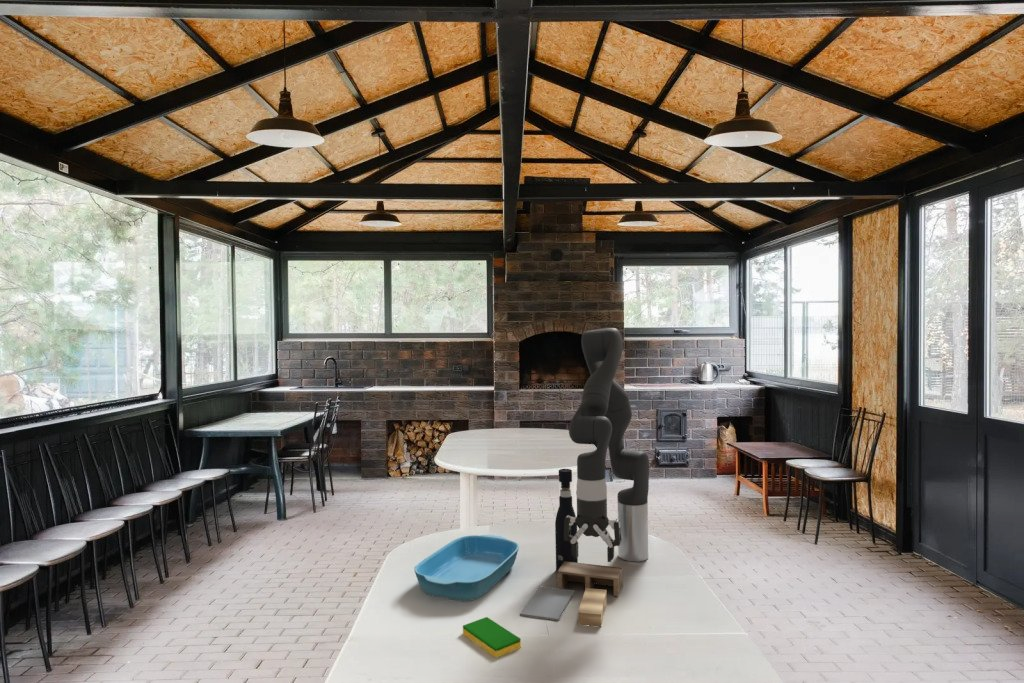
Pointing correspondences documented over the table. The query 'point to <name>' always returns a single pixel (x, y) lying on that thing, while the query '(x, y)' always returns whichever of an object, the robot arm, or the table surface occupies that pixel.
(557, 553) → the wine bottle
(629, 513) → the robot arm
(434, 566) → the casserole dish
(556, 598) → the slate mat
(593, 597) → the oak block
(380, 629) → the table surface
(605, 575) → the walnut shelf
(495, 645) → the dish sponge
